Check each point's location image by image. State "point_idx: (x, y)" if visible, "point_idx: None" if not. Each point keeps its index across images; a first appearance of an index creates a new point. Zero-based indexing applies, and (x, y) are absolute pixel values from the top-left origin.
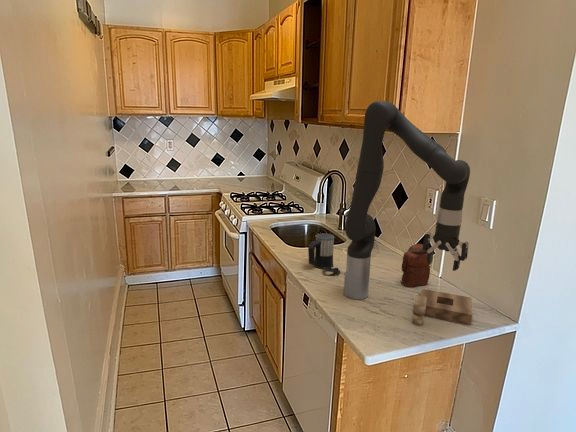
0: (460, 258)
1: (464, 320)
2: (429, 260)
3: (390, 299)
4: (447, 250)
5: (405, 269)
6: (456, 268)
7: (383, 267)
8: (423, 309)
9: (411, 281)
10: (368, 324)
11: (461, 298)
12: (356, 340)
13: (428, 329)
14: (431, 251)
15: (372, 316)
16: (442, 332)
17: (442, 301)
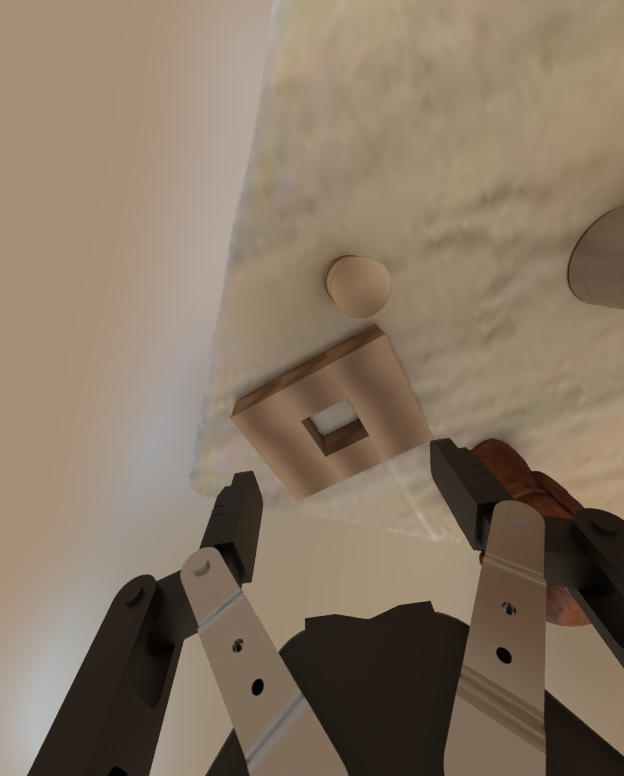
0: (170, 594)
1: (250, 397)
2: (448, 453)
3: (489, 334)
4: (316, 635)
5: (537, 479)
6: (226, 494)
7: (598, 484)
8: (329, 276)
9: (485, 460)
10: (468, 77)
11: (312, 477)
12: None
13: (294, 270)
14: (493, 530)
15: (485, 159)
16: (256, 294)
17: (351, 434)
